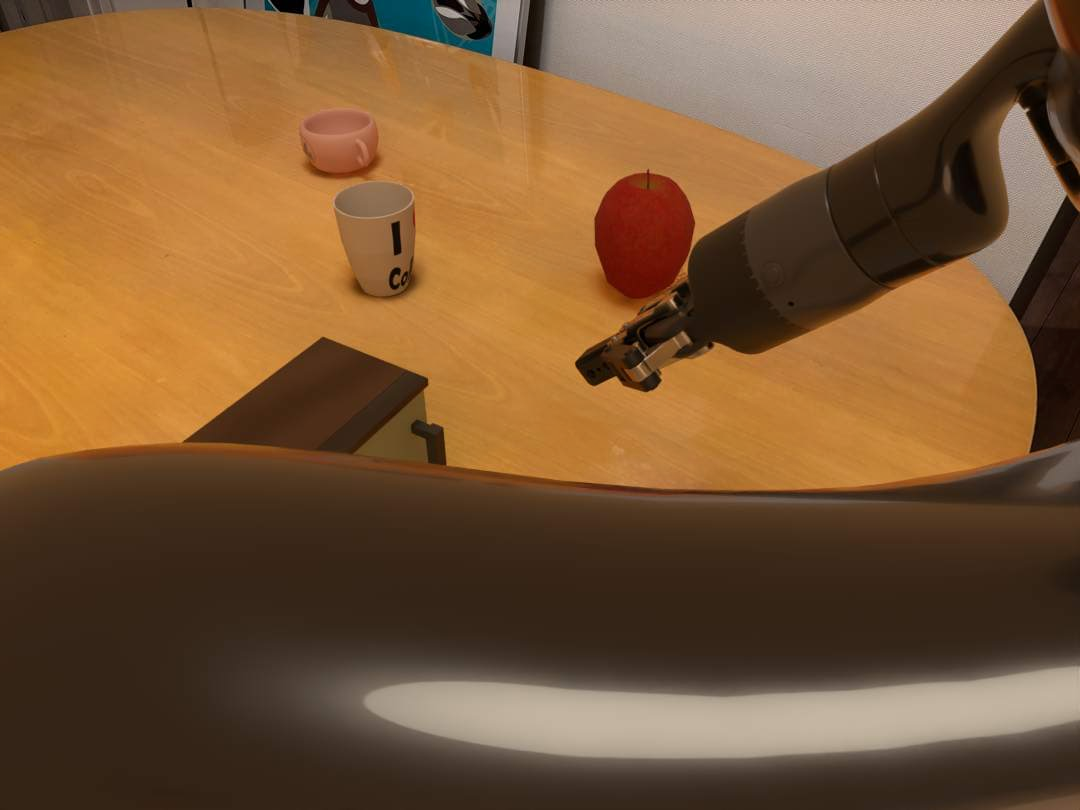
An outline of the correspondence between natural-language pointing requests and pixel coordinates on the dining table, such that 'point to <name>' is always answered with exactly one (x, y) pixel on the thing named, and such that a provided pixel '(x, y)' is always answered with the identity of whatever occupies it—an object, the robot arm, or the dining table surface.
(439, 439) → the door
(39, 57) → the dining table surface
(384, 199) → the cup
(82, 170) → the dining table surface
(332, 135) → the mug
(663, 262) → the apple
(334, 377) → the cabinet
